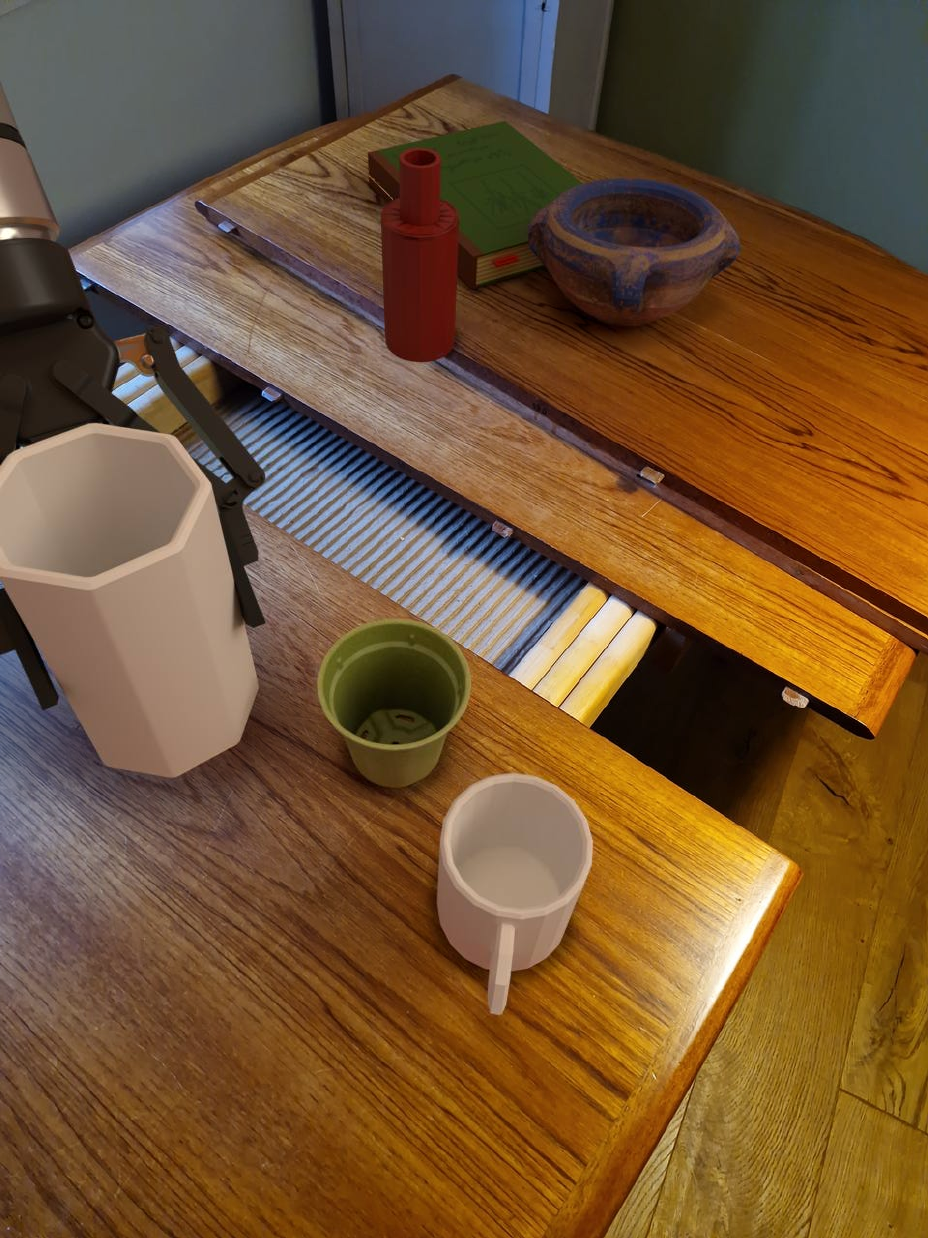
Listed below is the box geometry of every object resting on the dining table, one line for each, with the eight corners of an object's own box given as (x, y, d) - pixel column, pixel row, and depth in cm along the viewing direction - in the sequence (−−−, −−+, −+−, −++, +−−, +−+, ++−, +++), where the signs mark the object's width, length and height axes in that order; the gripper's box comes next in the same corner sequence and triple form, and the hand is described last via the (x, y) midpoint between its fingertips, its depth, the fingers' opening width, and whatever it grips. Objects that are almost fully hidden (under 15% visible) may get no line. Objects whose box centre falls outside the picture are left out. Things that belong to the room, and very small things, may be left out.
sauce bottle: (378, 356, 87) (370, 171, 73) (394, 316, 91) (389, 133, 77) (446, 366, 86) (452, 182, 72) (459, 325, 91) (467, 143, 76)
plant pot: (478, 706, 64) (485, 635, 57) (447, 827, 58) (451, 764, 51) (352, 678, 65) (344, 605, 58) (309, 794, 59) (294, 728, 52)
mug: (416, 1032, 50) (416, 985, 43) (447, 834, 58) (452, 762, 50) (558, 1055, 50) (584, 1011, 42) (572, 852, 57) (596, 783, 49)
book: (369, 184, 107) (367, 152, 104) (502, 151, 113) (505, 120, 110) (475, 293, 94) (477, 260, 91) (619, 249, 100) (625, 217, 97)
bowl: (630, 236, 102) (648, 146, 94) (740, 317, 93) (770, 226, 85) (501, 280, 96) (509, 188, 88) (606, 372, 87) (625, 279, 79)
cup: (176, 813, 53) (88, 627, 38) (41, 722, 56) (-89, 518, 41) (294, 681, 59) (258, 476, 44) (166, 606, 62) (92, 390, 47)
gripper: (203, 231, 52) (333, 584, 57) (-249, 335, 44) (-57, 735, 49) (221, 183, 45) (367, 590, 50) (-311, 297, 37) (-80, 766, 42)
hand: (157, 662), depth 49 cm, fingers closed on cup, 11 cm apart
